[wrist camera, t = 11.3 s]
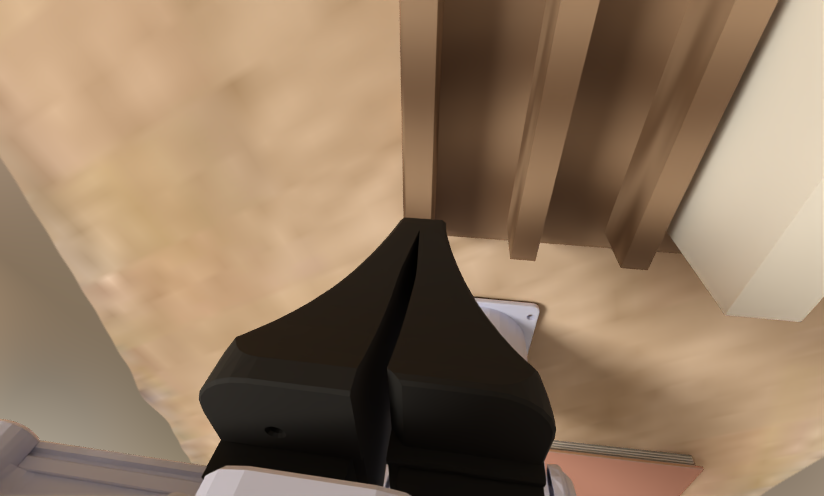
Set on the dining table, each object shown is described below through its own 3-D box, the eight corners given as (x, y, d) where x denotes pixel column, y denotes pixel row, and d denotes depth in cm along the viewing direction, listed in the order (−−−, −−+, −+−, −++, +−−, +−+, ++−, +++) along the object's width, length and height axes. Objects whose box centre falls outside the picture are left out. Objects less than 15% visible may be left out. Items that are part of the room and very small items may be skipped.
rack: (725, 246, 21) (769, 296, 18) (406, 223, 23) (395, 264, 20) (1020, -231, 11) (1242, -309, 8) (400, -200, 13) (375, -251, 10)
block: (707, 216, 19) (800, 322, 14) (654, 213, 19) (725, 315, 14) (886, -110, 12) (1245, -172, 6) (797, -109, 12) (1066, -165, 7)
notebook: (407, 487, 48) (405, 505, 47) (399, 417, 38) (395, 436, 37) (637, 518, 45) (643, 539, 43) (695, 449, 34) (705, 472, 33)
